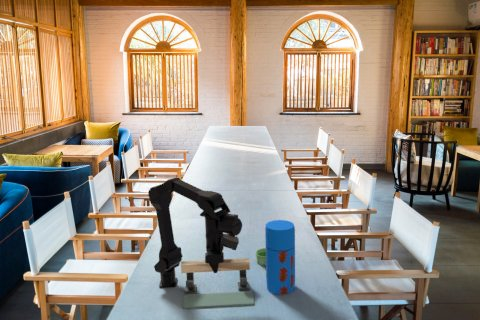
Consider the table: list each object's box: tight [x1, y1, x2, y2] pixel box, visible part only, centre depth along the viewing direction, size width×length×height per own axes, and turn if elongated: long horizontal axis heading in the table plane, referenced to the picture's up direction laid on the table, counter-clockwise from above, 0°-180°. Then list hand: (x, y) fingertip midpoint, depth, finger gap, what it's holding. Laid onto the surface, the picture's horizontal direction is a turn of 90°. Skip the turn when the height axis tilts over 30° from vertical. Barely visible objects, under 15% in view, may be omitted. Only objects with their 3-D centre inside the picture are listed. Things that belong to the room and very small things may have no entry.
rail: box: [180, 257, 251, 274], centre depth 160 cm, size 3×24×3 cm, turn 93°
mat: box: [182, 290, 255, 310], centre depth 163 cm, size 8×25×1 cm, turn 93°
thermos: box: [264, 219, 296, 295], centre depth 168 cm, size 11×11×25 cm
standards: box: [184, 270, 250, 294], centre depth 170 cm, size 7×24×8 cm, turn 93°
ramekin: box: [255, 247, 266, 267], centre depth 192 cm, size 9×9×4 cm
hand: (215, 270), depth 160 cm, fingers closed on rail, 3 cm apart
